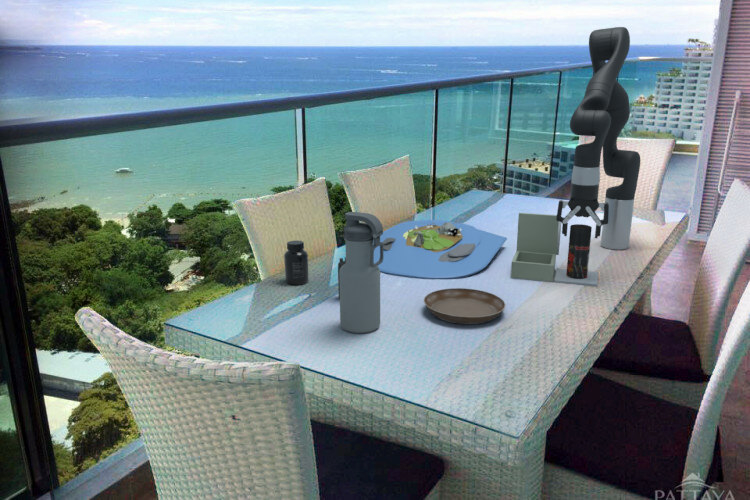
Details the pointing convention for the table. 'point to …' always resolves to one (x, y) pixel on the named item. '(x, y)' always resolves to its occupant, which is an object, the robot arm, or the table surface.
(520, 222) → the case
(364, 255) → the water bottle
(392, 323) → the table surface
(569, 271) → the deodorant
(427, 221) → the island diorama
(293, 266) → the supplement bottle
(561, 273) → the mat
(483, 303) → the plant saucer
